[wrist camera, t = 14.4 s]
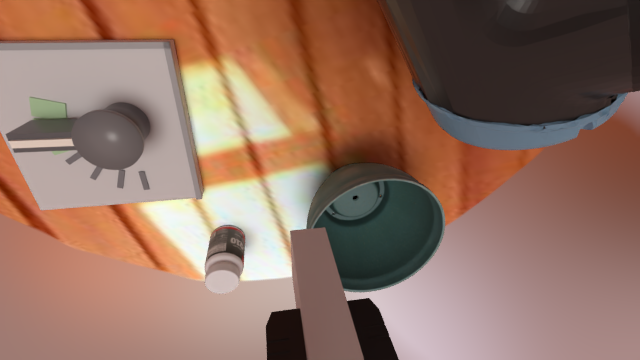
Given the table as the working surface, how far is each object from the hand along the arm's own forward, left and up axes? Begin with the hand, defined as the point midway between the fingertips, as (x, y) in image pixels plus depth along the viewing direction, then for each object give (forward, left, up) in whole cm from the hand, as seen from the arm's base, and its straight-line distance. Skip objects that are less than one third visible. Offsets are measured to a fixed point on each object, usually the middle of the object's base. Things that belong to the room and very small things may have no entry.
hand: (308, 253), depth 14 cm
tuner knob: (+2, -19, -25) cm, 31 cm away
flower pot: (+14, +10, -27) cm, 32 cm away
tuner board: (+3, -19, -26) cm, 33 cm away
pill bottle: (+20, -8, -27) cm, 34 cm away
